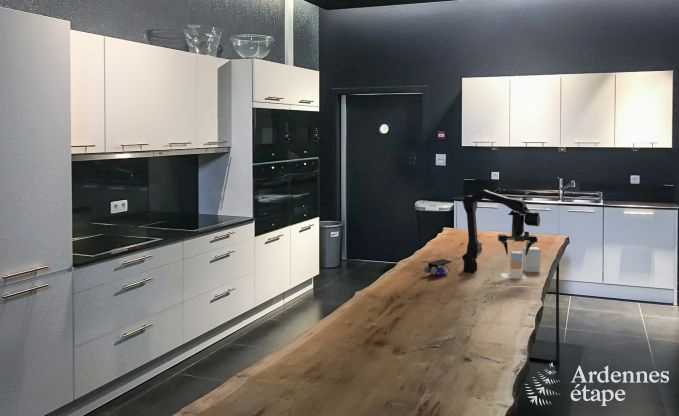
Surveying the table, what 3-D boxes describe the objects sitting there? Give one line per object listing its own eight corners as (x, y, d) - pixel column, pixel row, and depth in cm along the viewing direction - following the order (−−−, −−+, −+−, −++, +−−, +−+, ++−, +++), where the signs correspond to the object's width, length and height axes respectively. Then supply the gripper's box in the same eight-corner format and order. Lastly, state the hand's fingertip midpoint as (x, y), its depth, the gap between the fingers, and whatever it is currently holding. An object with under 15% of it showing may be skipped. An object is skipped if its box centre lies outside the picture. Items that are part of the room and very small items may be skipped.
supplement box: (539, 273, 347) (541, 249, 345) (525, 273, 347) (526, 249, 345) (536, 270, 354) (537, 246, 352) (521, 270, 354) (523, 246, 352)
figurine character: (433, 281, 333) (452, 273, 343) (433, 266, 331) (452, 259, 341) (423, 279, 338) (441, 271, 348) (422, 264, 336) (441, 257, 346)
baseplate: (502, 279, 332) (502, 277, 332) (500, 274, 342) (500, 273, 342) (527, 280, 331) (527, 278, 331) (524, 275, 341) (524, 274, 341)
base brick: (510, 276, 335) (510, 269, 334) (508, 274, 341) (508, 266, 340) (522, 277, 334) (522, 269, 334) (520, 274, 340) (521, 266, 340)
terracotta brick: (509, 266, 340) (510, 258, 339) (520, 267, 339) (520, 259, 339) (511, 268, 335) (511, 261, 334) (521, 269, 334) (522, 261, 334)
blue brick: (510, 258, 339) (510, 251, 339) (520, 259, 339) (520, 251, 338) (511, 260, 334) (512, 253, 334) (522, 261, 334) (522, 253, 333)
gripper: (501, 226, 327) (499, 257, 329) (540, 227, 325) (538, 259, 327) (498, 223, 338) (496, 253, 340) (535, 224, 336) (534, 254, 338)
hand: (516, 255), depth 336 cm, fingers open, 9 cm apart
